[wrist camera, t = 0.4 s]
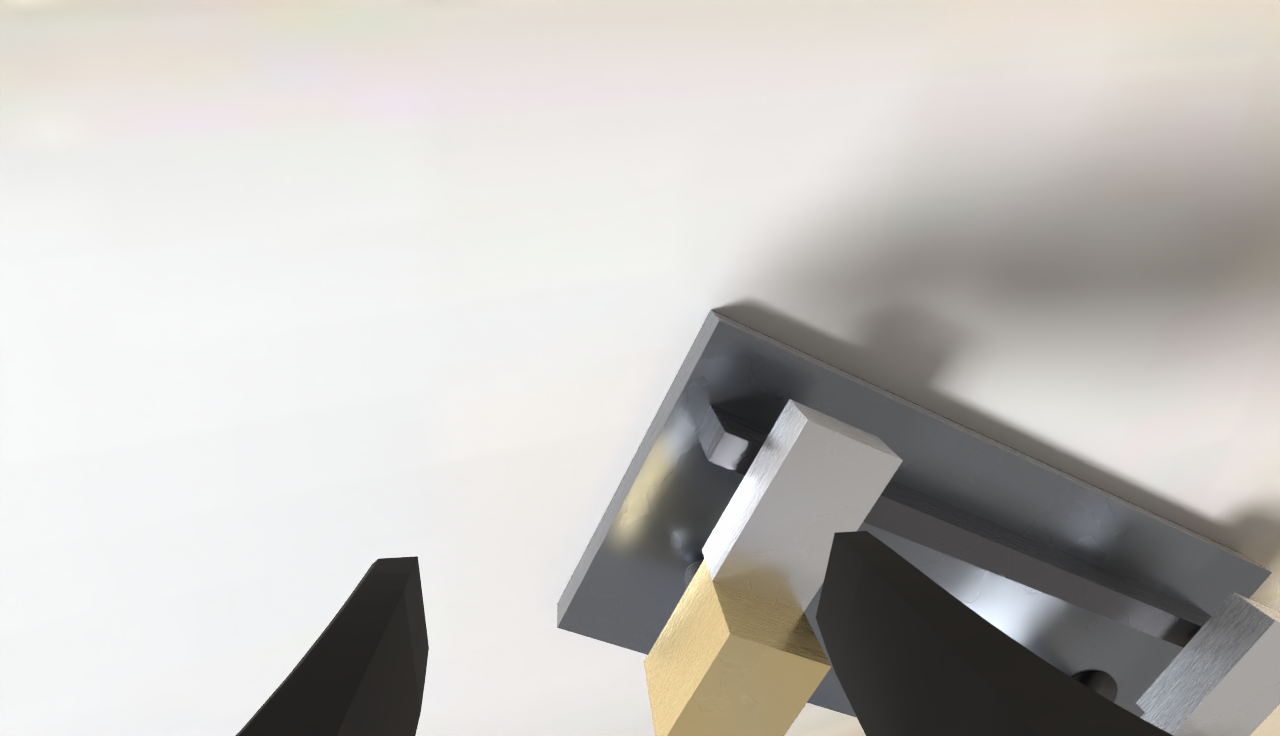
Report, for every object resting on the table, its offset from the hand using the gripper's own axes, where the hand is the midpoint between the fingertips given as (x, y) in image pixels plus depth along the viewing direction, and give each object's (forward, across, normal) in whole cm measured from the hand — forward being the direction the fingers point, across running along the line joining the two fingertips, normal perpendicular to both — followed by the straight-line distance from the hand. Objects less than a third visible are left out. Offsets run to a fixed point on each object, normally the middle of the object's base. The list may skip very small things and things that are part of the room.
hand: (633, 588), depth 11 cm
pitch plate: (+9, -13, +9) cm, 18 cm away
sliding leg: (+8, -5, +5) cm, 10 cm away
